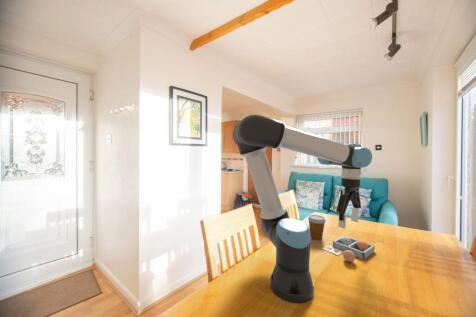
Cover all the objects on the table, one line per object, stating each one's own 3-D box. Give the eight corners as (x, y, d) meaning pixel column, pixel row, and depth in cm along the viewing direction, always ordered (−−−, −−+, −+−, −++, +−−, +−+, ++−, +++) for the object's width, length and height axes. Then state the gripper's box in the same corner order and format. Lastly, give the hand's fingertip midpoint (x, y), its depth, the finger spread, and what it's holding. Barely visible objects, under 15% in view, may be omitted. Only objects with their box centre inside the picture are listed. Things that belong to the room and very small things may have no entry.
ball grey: (348, 249, 102) (349, 240, 102) (339, 246, 106) (339, 236, 106) (353, 247, 105) (353, 237, 105) (343, 243, 109) (343, 234, 109)
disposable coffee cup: (327, 241, 111) (328, 220, 111) (310, 241, 111) (311, 219, 111) (321, 234, 121) (321, 214, 120) (305, 234, 121) (305, 214, 121)
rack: (364, 259, 93) (364, 253, 93) (332, 247, 105) (332, 241, 105) (374, 251, 101) (374, 245, 101) (344, 240, 113) (344, 235, 112)
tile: (337, 255, 96) (337, 254, 96) (322, 248, 103) (322, 247, 103) (343, 252, 100) (343, 251, 100) (328, 245, 106) (328, 244, 106)
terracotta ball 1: (352, 265, 88) (352, 254, 88) (340, 260, 92) (340, 249, 92) (357, 262, 91) (357, 251, 91) (345, 257, 95) (346, 246, 95)
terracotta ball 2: (366, 254, 98) (366, 244, 98) (355, 250, 102) (355, 240, 102) (370, 251, 101) (370, 241, 101) (359, 247, 105) (359, 238, 105)
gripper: (347, 181, 80) (345, 233, 81) (370, 177, 96) (367, 221, 96) (329, 178, 86) (327, 227, 87) (353, 175, 102) (351, 217, 102)
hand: (348, 224), depth 92 cm, fingers open, 13 cm apart
